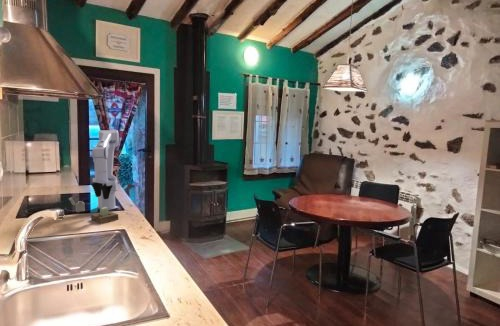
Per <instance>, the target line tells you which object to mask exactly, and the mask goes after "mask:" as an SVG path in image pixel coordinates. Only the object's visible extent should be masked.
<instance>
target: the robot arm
mask: <svg viewBox="0 0 500 326" xmlns="http://www.w3.org/2000/svg"><path fill="white" fill-rule="evenodd" d="M119 139H120V134H119V131H118V129H116V130H113V129H111V130H109V129H108V130H107V129H106V130H105V129H103V130H102V129H100V130H99V131H98V140H99V141H97V143H96V146H95V147H94V148H92V149H91V151H92V152H91V153H92V160H93V164H94V166H93V167H94V177H92V183H90V185H91V187H92V188H93V191H94V195H95V197H96V198H97V206H96V208H97V209H99V210H100V208H102V207H107V208H108V211H111V210H115V209H119V208H120V207H119V206H117V205H116V192H117V191H118V186H119V184H118V182H119V181H118V178H117V176H115V175H114V173H113V171H114V159H115V157H114V156H115V150H116V148H117V147H118V146H119Z"/></svg>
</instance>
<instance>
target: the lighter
mask: <svg viewBox="0 0 500 326" xmlns="http://www.w3.org/2000/svg"><path fill="white" fill-rule="evenodd" d="M68 200H69V201H70V203H71V204H72V205H73V206H75V212H76V213H80V212H85V211H86V207H85V206H86V205H85V202H84V201H83V200H82V201H81V200H79V201H77V203H76V202H75V200H74V198H73V197H72V196H71V197H68Z"/></svg>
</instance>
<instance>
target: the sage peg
mask: <svg viewBox="0 0 500 326" xmlns="http://www.w3.org/2000/svg"><path fill="white" fill-rule="evenodd" d="M108 211H109V210H108V208H107V207H102V208H100V209H99V213H100V216H107V215H108Z"/></svg>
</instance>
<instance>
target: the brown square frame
mask: <svg viewBox="0 0 500 326" xmlns="http://www.w3.org/2000/svg"><path fill="white" fill-rule="evenodd" d="M90 216H91V217H90V219H91V221H93V222H95V223H98V224H100V225H102V224H105V223H108V222H113V221H117V220H119V214H118V213H115V212H113V211H111V210H108V215H107V216H100V212H98V213H93V214H91V215H90Z"/></svg>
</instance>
